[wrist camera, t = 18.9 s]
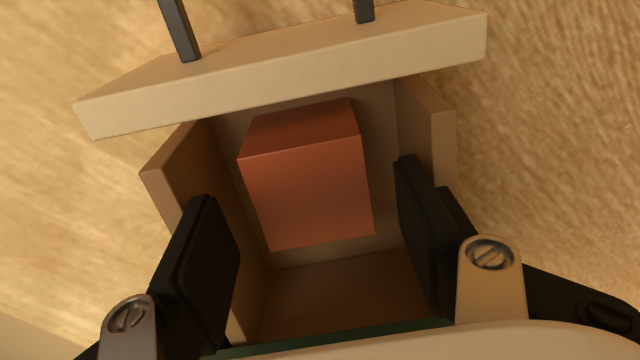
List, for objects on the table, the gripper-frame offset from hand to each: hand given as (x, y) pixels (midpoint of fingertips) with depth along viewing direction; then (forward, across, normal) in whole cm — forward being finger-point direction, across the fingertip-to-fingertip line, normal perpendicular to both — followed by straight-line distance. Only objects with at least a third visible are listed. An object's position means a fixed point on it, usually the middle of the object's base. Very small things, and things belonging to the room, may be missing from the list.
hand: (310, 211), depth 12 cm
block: (+5, 0, 0) cm, 5 cm away
